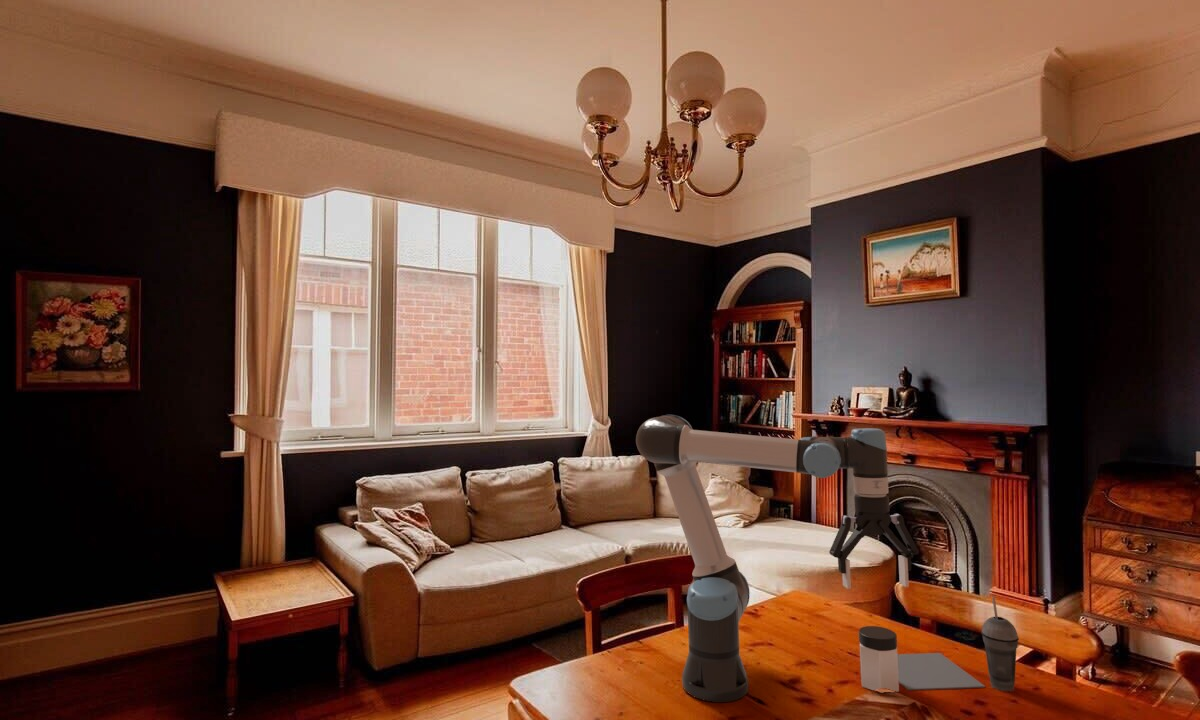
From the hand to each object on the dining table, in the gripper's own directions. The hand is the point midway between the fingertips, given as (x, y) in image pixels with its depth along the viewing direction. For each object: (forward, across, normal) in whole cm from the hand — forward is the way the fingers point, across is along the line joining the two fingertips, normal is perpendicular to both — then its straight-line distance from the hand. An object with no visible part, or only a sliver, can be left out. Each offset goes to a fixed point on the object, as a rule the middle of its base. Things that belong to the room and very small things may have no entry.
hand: (875, 586), depth 146 cm
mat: (+23, +14, +6) cm, 27 cm away
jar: (+23, 0, 0) cm, 23 cm away
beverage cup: (+23, +27, -3) cm, 35 cm away
